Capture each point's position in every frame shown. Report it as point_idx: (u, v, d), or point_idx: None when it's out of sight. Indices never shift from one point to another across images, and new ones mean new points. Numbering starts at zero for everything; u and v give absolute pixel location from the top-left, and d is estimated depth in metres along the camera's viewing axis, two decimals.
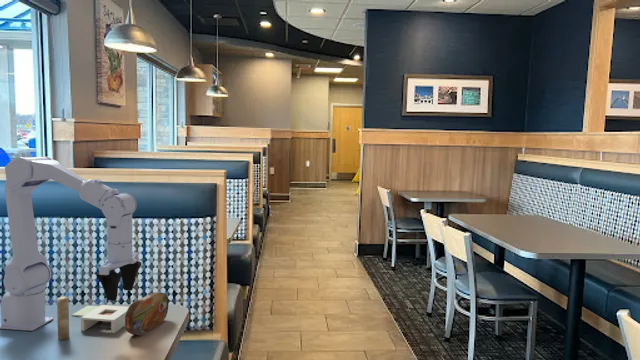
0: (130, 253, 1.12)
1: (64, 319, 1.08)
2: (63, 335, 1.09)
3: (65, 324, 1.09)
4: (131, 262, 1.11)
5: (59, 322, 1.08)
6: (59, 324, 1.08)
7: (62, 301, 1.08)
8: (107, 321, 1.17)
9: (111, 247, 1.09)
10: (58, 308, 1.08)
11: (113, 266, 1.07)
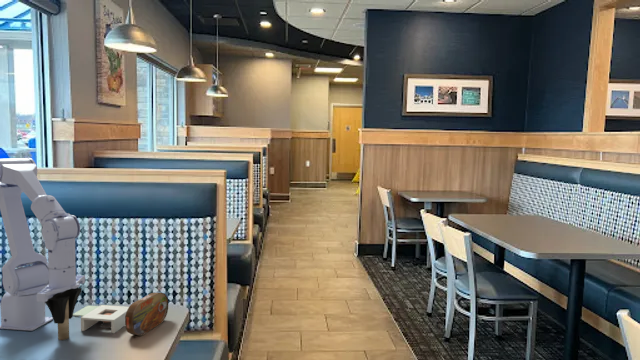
0: (72, 278, 1.08)
1: None
2: (63, 335, 1.09)
3: (65, 324, 1.09)
4: (73, 287, 1.07)
5: None
6: (59, 324, 1.08)
7: None
8: (107, 321, 1.17)
9: (51, 272, 1.06)
10: None
11: (52, 292, 1.03)
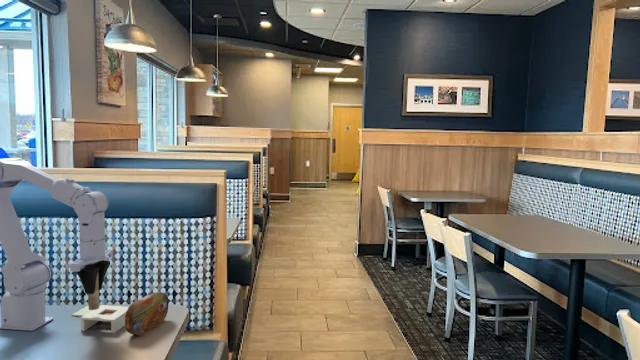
0: (102, 250, 1.13)
1: None
2: (94, 305, 1.14)
3: (95, 295, 1.14)
4: (103, 259, 1.12)
5: None
6: (90, 295, 1.13)
7: None
8: (107, 321, 1.17)
9: (83, 244, 1.11)
10: None
11: (84, 263, 1.08)
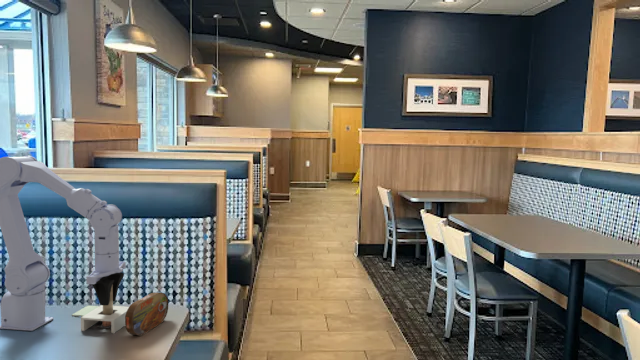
0: (117, 263, 1.16)
1: None
2: None
3: (110, 305, 1.17)
4: (117, 271, 1.15)
5: None
6: (104, 305, 1.16)
7: None
8: (107, 325, 1.17)
9: (98, 257, 1.14)
10: None
11: (100, 276, 1.12)
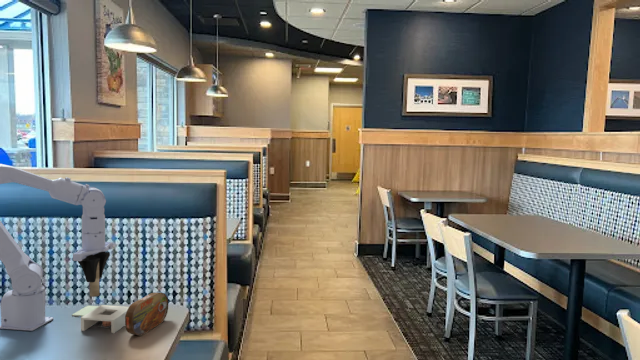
0: (103, 242, 1.23)
1: None
2: (94, 292, 1.23)
3: (96, 283, 1.23)
4: (103, 250, 1.22)
5: None
6: (91, 282, 1.23)
7: None
8: (107, 325, 1.17)
9: (85, 236, 1.20)
10: None
11: (86, 253, 1.18)
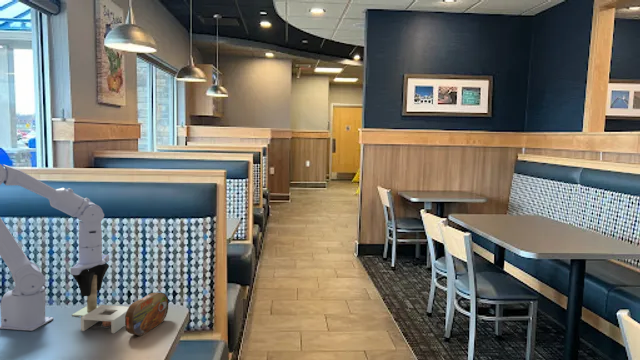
0: (99, 255, 1.25)
1: (92, 294, 1.25)
2: (92, 308, 1.25)
3: (94, 298, 1.25)
4: (100, 263, 1.24)
5: (89, 296, 1.25)
6: (88, 298, 1.25)
7: None
8: (107, 325, 1.17)
9: (82, 250, 1.22)
10: None
11: (83, 267, 1.20)
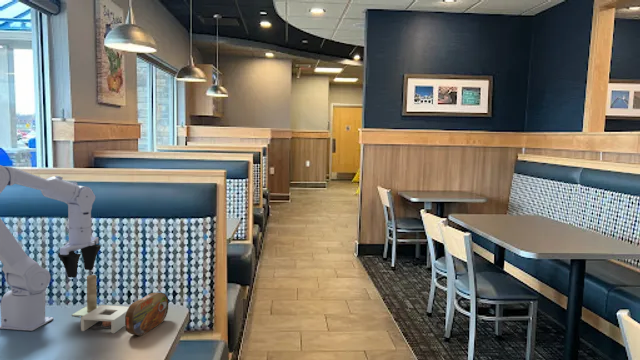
0: (89, 237, 1.28)
1: (92, 294, 1.25)
2: (92, 308, 1.25)
3: (93, 298, 1.25)
4: (89, 244, 1.28)
5: (88, 296, 1.25)
6: (88, 298, 1.25)
7: (91, 278, 1.25)
8: (107, 325, 1.17)
9: (71, 231, 1.26)
10: (88, 284, 1.25)
11: (72, 247, 1.24)
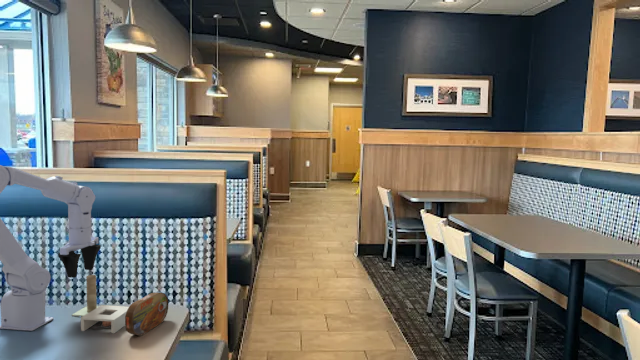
0: (89, 237, 1.28)
1: (92, 294, 1.25)
2: (92, 308, 1.25)
3: (93, 298, 1.25)
4: (89, 244, 1.28)
5: (88, 296, 1.25)
6: (88, 298, 1.25)
7: (91, 278, 1.25)
8: (107, 325, 1.17)
9: (71, 231, 1.26)
10: (87, 284, 1.25)
11: (72, 247, 1.24)
